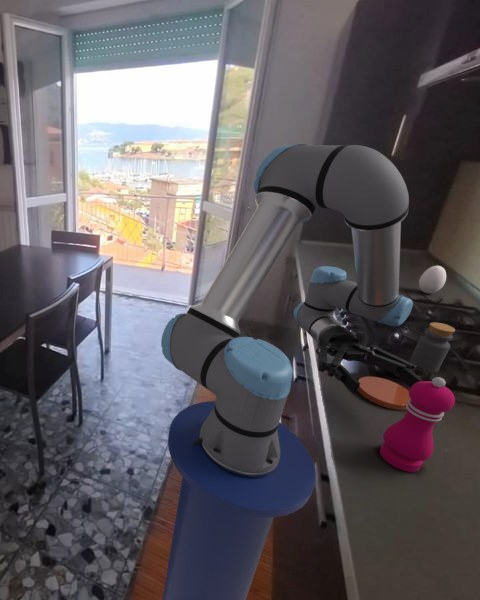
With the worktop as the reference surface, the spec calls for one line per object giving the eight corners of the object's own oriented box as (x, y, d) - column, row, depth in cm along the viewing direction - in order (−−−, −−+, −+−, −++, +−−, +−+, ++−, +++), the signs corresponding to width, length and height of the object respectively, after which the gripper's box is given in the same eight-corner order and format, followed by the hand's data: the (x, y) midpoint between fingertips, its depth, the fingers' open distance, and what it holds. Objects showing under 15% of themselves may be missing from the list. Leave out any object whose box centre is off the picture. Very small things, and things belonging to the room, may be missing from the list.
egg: (442, 294, 144) (455, 267, 139) (434, 298, 141) (446, 270, 136) (419, 288, 150) (431, 261, 145) (411, 291, 146) (422, 264, 142)
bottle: (439, 382, 93) (465, 333, 87) (413, 380, 94) (437, 331, 88) (423, 369, 98) (447, 322, 92) (400, 367, 99) (421, 320, 93)
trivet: (366, 405, 86) (369, 400, 85) (349, 377, 95) (351, 373, 95) (421, 413, 83) (424, 408, 82) (398, 384, 92) (400, 380, 92)
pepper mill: (408, 479, 67) (454, 395, 59) (368, 451, 73) (404, 371, 65) (431, 467, 70) (478, 385, 61) (390, 440, 76) (428, 362, 67)
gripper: (379, 351, 94) (447, 407, 75) (281, 347, 96) (323, 401, 77) (389, 326, 91) (463, 378, 71) (287, 323, 93) (333, 372, 73)
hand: (391, 390), depth 74 cm, fingers open, 13 cm apart
